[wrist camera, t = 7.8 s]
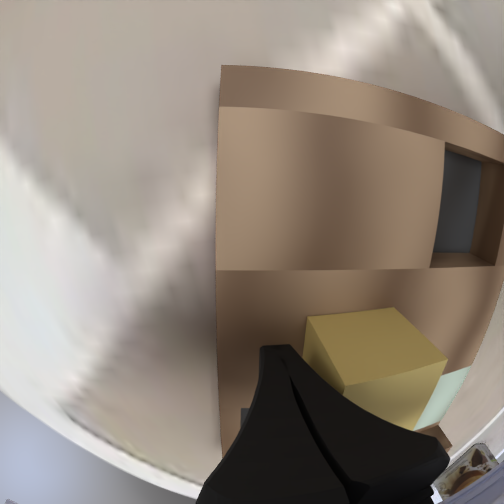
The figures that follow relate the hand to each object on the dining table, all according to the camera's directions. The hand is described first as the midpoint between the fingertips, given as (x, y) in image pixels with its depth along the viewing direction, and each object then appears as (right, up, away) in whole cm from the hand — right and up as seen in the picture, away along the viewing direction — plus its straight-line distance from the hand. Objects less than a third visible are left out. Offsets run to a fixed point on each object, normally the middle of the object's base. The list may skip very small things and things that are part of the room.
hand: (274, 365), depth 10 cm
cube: (+3, 0, +1) cm, 3 cm away
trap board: (+5, +1, +4) cm, 7 cm away
